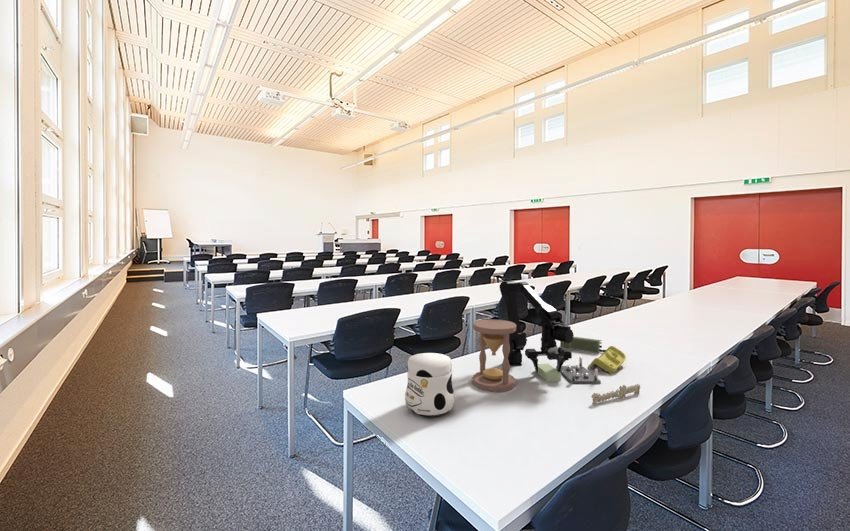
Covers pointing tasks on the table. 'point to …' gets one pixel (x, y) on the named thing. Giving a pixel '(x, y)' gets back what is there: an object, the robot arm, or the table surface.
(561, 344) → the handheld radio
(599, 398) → the decorative sign
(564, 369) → the chassis
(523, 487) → the table surface
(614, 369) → the plastic component
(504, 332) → the hourglass
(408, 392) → the milk container
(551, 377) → the board
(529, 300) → the robot arm
